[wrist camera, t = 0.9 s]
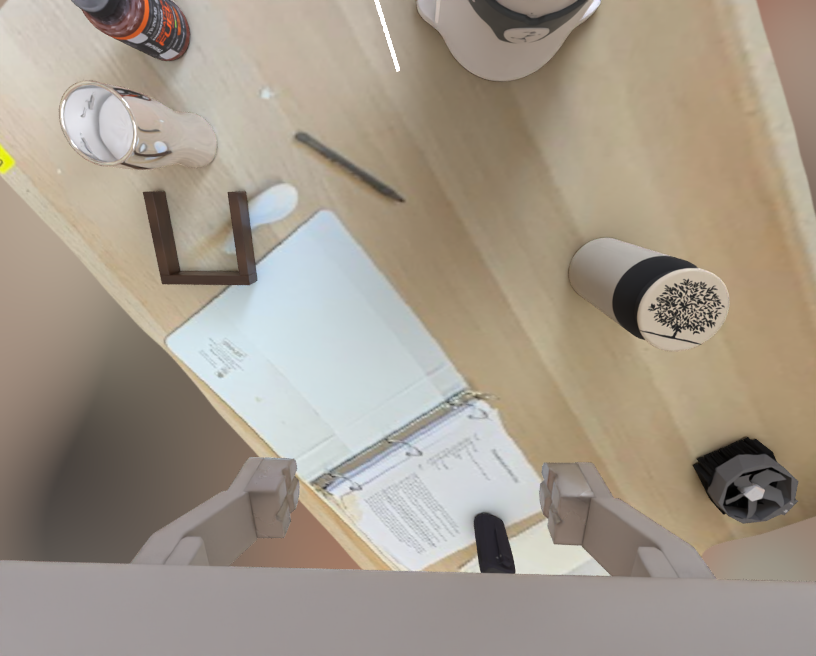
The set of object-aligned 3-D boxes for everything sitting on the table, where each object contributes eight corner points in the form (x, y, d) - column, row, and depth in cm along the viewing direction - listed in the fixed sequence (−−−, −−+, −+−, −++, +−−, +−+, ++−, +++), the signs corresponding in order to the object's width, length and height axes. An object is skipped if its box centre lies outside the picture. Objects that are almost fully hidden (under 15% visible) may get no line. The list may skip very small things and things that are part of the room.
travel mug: (587, 227, 50) (669, 251, 33) (644, 251, 51) (754, 286, 34) (556, 286, 53) (618, 336, 36) (611, 308, 54) (697, 367, 37)
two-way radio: (468, 522, 67) (480, 614, 53) (482, 503, 65) (498, 592, 51) (498, 534, 67) (517, 628, 53) (512, 515, 66) (536, 607, 52)
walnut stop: (155, 191, 51) (142, 191, 48) (246, 191, 50) (237, 191, 48) (173, 279, 55) (161, 284, 52) (257, 280, 54) (249, 285, 52)
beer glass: (159, 160, 50) (54, 153, 35) (166, 99, 47) (57, 64, 33) (216, 180, 50) (134, 180, 36) (226, 120, 48) (142, 94, 34)
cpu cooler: (710, 485, 56) (787, 453, 53) (685, 458, 61) (754, 428, 59) (735, 536, 58) (809, 507, 56) (708, 506, 64) (776, 478, 62)
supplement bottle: (194, 64, 46) (125, 30, 35) (142, 60, 46) (57, 23, 35) (189, 0, 44) (114, -58, 33) (134, -5, 44) (42, -64, 33)
